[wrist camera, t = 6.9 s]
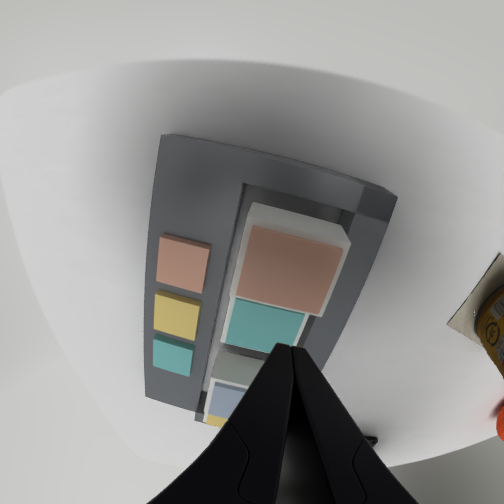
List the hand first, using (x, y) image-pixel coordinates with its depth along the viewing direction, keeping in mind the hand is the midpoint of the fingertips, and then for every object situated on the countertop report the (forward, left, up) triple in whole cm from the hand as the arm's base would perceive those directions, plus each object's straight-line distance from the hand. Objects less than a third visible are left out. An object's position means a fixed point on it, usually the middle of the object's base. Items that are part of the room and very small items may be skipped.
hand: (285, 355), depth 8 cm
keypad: (-7, +1, -11) cm, 13 cm away
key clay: (0, 0, -9) cm, 9 cm away
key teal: (-5, 0, -11) cm, 12 cm away
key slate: (-10, 0, -9) cm, 13 cm away
